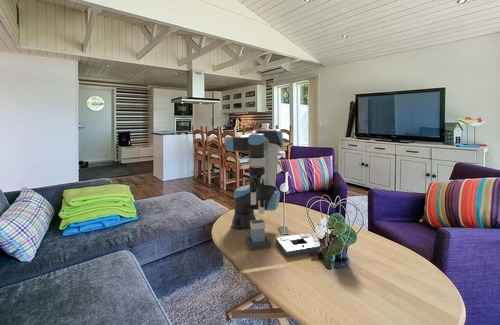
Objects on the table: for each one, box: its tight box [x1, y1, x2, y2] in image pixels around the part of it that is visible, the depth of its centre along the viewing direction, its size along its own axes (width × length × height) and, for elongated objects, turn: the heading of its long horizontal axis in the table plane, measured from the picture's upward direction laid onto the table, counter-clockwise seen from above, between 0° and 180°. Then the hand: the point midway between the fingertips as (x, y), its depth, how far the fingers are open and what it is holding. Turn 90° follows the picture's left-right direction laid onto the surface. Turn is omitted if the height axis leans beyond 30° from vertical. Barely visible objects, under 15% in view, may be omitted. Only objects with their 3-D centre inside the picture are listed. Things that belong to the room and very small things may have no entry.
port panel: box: [275, 233, 321, 258], centre depth 126 cm, size 14×18×5 cm
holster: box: [245, 235, 271, 251], centre depth 130 cm, size 10×10×4 cm
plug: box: [250, 218, 266, 243], centre depth 129 cm, size 4×6×12 cm
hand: (257, 208), depth 127 cm, fingers open, 13 cm apart
